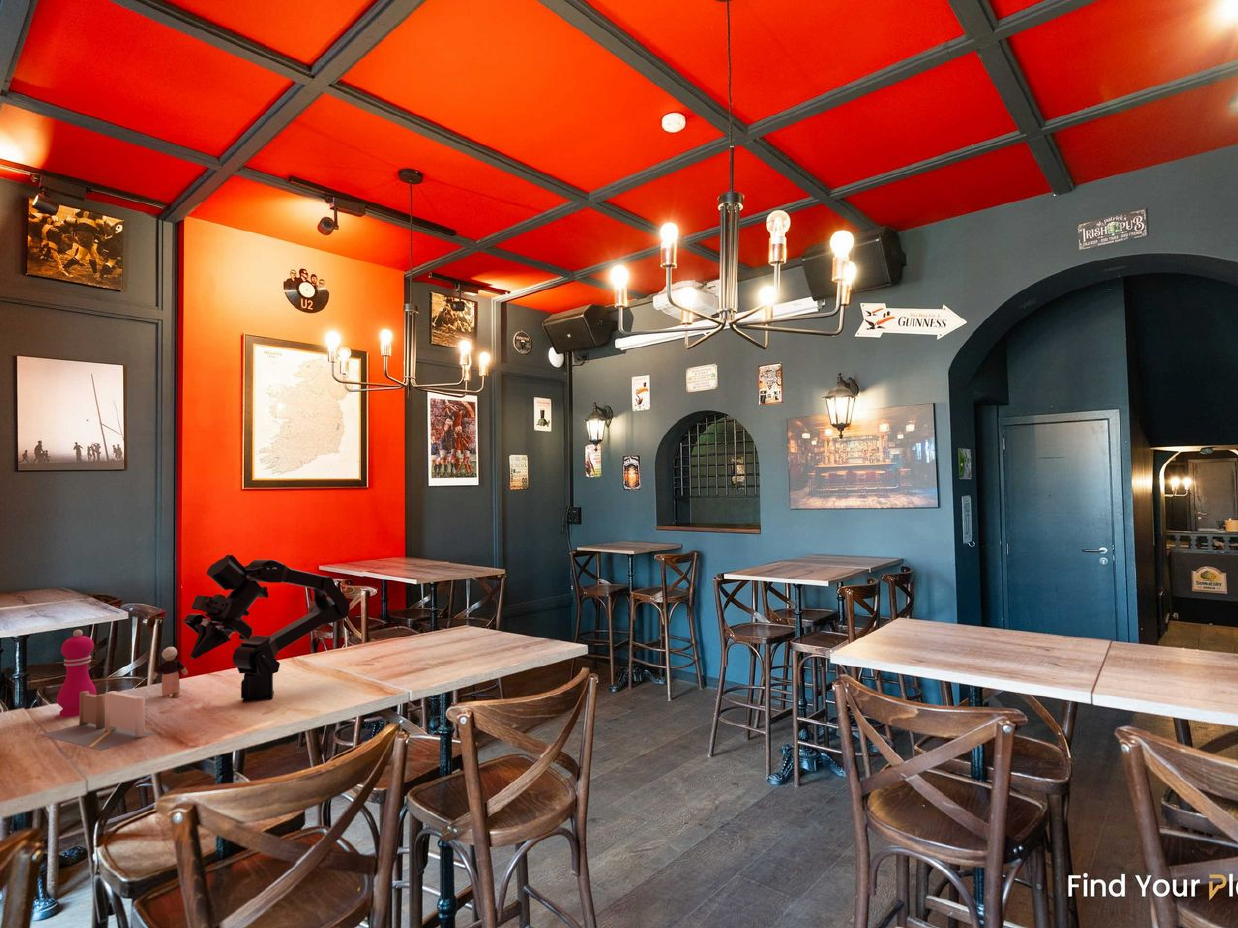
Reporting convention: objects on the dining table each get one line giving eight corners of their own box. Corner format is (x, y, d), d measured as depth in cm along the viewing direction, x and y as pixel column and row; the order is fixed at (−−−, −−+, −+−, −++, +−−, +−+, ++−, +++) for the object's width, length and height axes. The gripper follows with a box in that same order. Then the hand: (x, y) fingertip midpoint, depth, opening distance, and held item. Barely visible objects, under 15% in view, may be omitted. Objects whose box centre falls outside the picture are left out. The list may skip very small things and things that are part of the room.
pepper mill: (91, 709, 162) (92, 625, 163) (100, 714, 157) (101, 628, 158) (53, 717, 156) (54, 630, 157) (60, 723, 152) (62, 634, 153)
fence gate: (102, 730, 143) (103, 693, 144) (113, 727, 145) (113, 690, 145) (137, 738, 138) (137, 699, 138) (147, 734, 139) (147, 696, 140)
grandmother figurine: (181, 692, 175) (181, 643, 175) (189, 694, 173) (189, 644, 173) (148, 700, 168) (148, 649, 169) (156, 702, 166) (156, 650, 167)
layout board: (39, 738, 142) (39, 701, 142) (94, 723, 151) (94, 688, 151) (100, 754, 132) (100, 714, 132) (155, 737, 141) (155, 699, 141)
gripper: (191, 580, 163) (142, 634, 153) (241, 582, 155) (192, 640, 145) (222, 607, 170) (177, 661, 160) (271, 611, 162) (227, 668, 151)
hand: (192, 657), depth 154 cm, fingers closed
